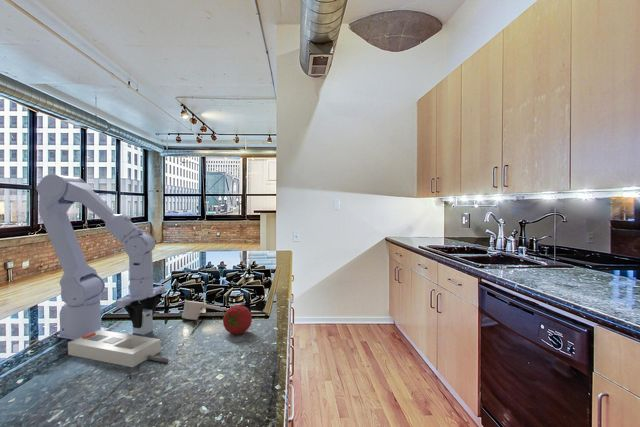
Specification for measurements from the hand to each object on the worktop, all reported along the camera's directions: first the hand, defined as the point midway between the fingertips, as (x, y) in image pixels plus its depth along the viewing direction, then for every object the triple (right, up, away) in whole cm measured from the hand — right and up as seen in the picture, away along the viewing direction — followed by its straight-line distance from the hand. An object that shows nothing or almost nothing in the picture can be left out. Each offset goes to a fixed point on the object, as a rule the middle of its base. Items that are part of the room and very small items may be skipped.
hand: (142, 325), depth 91 cm
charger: (0, -2, 0) cm, 2 cm away
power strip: (+3, -2, -13) cm, 14 cm away
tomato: (+27, -2, -1) cm, 27 cm away
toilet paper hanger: (+12, -2, +15) cm, 20 cm away
